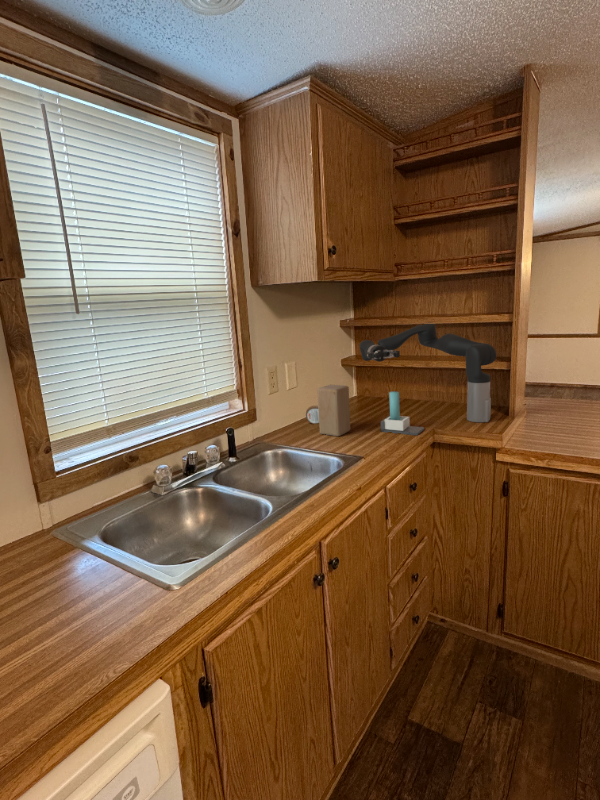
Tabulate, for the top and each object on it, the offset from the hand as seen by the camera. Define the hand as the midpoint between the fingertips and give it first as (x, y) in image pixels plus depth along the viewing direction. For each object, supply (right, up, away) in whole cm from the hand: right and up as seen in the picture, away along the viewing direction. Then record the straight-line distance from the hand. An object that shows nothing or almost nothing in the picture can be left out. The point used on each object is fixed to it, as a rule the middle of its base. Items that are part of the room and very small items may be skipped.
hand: (388, 355), depth 200 cm
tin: (-29, -31, +9) cm, 43 cm away
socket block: (+2, -31, -10) cm, 33 cm away
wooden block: (-24, -34, -8) cm, 42 cm away
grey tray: (+4, -33, -11) cm, 35 cm away
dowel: (+1, -30, -10) cm, 32 cm away
